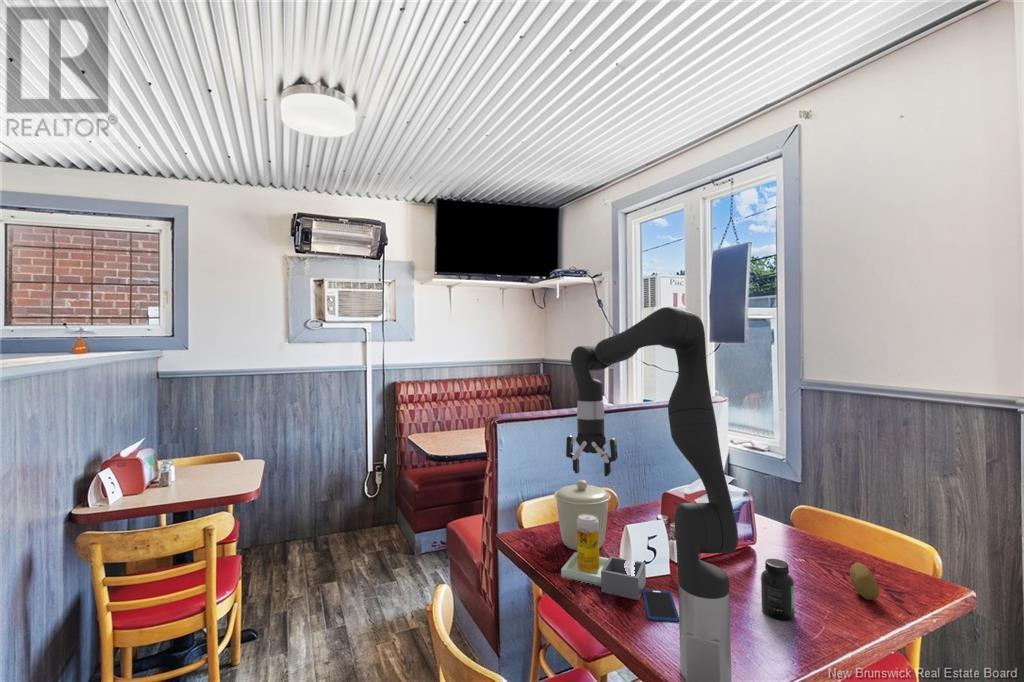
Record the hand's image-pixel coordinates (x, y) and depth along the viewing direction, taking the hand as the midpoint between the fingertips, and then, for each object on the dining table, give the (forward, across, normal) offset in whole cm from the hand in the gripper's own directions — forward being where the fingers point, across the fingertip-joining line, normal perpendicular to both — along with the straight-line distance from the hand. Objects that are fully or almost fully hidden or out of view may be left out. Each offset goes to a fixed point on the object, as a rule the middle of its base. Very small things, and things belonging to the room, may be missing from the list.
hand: (591, 474), depth 133 cm
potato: (+29, +65, +16) cm, 73 cm away
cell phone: (+29, +19, -8) cm, 36 cm away
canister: (+28, -9, +18) cm, 35 cm away
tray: (+28, -2, +1) cm, 28 cm away
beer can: (+28, -2, +1) cm, 28 cm away
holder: (+28, +9, -3) cm, 30 cm away
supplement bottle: (+29, +45, 0) cm, 53 cm away
